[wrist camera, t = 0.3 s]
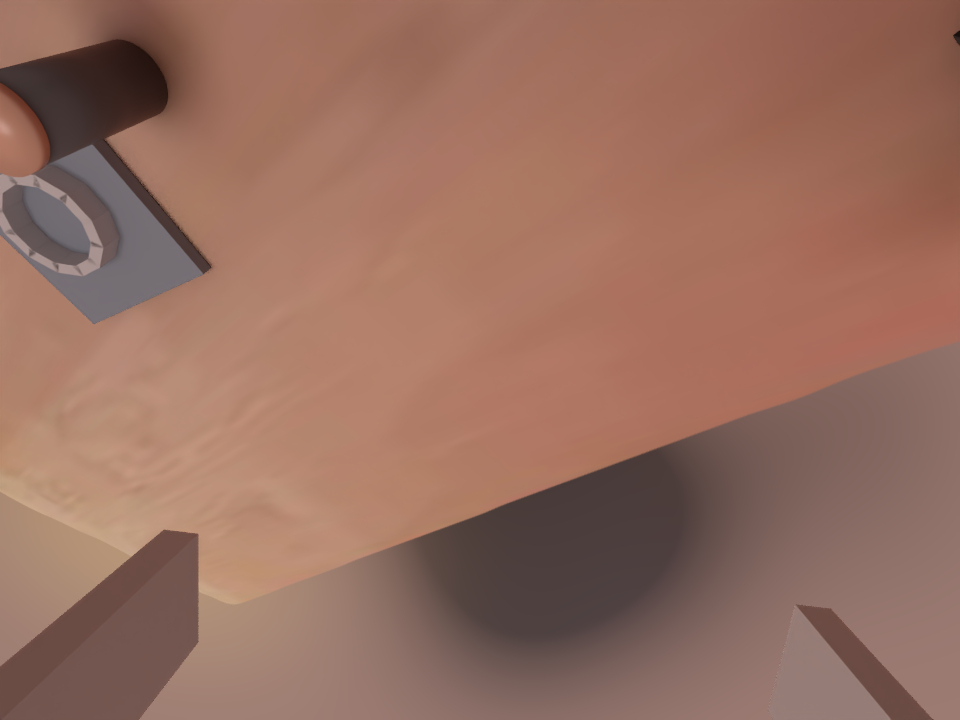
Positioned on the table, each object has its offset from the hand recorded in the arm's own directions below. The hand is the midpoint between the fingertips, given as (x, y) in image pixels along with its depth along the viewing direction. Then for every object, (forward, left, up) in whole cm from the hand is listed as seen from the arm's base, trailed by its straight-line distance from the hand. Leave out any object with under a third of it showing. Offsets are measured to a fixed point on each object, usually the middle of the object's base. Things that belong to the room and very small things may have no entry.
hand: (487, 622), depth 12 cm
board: (-11, -40, -33) cm, 53 cm away
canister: (-16, -26, -33) cm, 45 cm away
